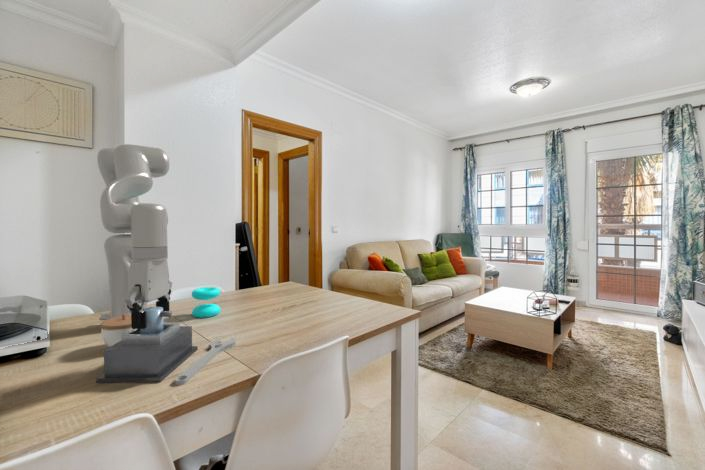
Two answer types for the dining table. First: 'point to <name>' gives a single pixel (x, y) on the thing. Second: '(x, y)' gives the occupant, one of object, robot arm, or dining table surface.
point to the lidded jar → (115, 329)
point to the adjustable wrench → (204, 360)
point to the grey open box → (147, 355)
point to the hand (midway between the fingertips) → (151, 322)
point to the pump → (155, 320)
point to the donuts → (206, 309)
